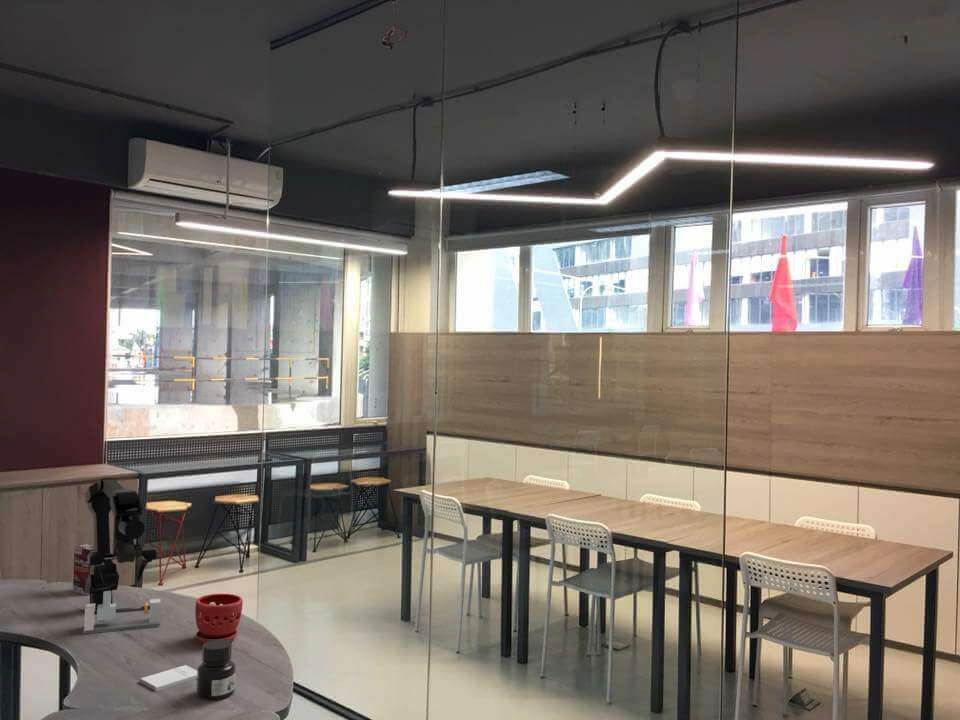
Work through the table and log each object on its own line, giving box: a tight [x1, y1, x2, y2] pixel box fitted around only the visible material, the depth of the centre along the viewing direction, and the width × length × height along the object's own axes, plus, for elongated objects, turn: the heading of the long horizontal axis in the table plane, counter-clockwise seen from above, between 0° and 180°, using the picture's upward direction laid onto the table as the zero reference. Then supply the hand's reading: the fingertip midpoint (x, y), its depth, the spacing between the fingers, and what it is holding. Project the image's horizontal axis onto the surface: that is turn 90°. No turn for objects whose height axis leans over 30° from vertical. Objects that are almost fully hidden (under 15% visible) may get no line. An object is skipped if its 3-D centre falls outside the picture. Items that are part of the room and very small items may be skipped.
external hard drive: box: [139, 664, 198, 692], centre depth 198 cm, size 2×8×12 cm
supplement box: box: [72, 543, 95, 596], centre depth 270 cm, size 9×5×16 cm, turn 62°
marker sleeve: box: [96, 591, 117, 621], centre depth 234 cm, size 5×4×8 cm
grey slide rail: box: [82, 598, 161, 635], centre depth 236 cm, size 21×7×7 cm, turn 113°
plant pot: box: [194, 593, 244, 644], centre depth 227 cm, size 13×13×12 cm
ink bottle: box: [196, 640, 236, 701], centre depth 190 cm, size 10×9×12 cm
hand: (121, 583), depth 236 cm, fingers open, 9 cm apart
